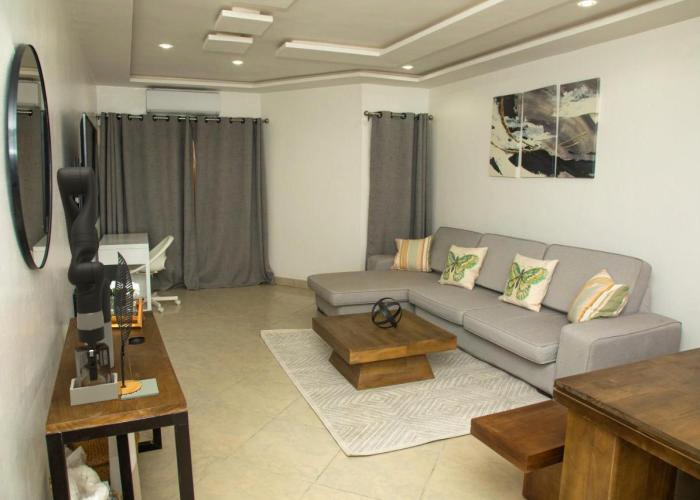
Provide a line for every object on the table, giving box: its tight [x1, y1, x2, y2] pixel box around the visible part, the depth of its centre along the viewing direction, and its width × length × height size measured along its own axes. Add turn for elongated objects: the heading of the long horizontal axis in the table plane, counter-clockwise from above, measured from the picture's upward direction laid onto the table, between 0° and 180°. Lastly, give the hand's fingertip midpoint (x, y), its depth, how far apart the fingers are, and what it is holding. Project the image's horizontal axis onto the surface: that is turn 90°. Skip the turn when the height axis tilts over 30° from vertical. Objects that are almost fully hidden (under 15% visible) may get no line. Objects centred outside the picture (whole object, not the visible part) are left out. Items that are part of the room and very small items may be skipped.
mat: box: [120, 377, 160, 401], centre depth 174 cm, size 14×11×1 cm
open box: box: [69, 372, 119, 407], centre depth 169 cm, size 10×13×5 cm
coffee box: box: [74, 342, 112, 388], centre depth 168 cm, size 9×6×16 cm
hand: (94, 376), depth 168 cm, fingers closed on coffee box, 7 cm apart
